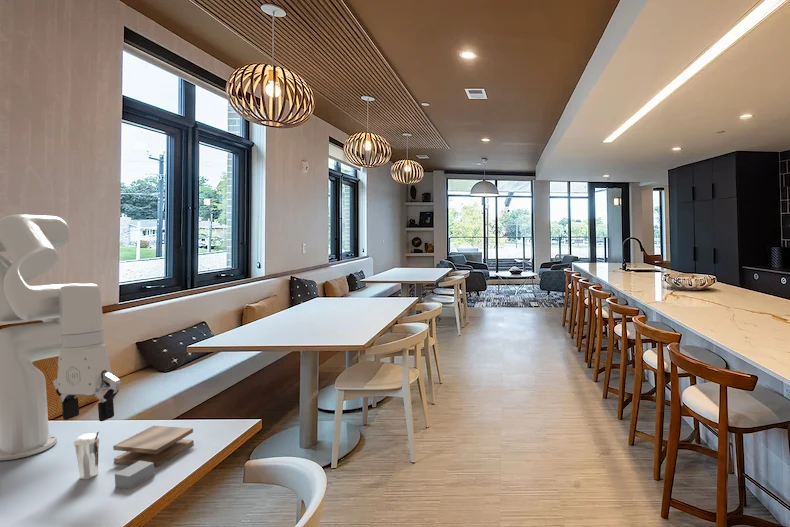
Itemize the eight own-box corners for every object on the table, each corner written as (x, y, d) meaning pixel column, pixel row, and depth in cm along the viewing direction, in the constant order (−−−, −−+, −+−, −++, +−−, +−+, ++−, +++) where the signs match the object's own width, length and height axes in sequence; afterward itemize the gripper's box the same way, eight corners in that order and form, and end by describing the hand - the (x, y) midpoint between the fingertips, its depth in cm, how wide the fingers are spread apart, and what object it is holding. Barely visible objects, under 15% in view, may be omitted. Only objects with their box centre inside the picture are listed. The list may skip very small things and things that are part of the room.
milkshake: (91, 482, 93) (88, 435, 92) (70, 480, 94) (68, 434, 93) (109, 471, 97) (107, 427, 97) (89, 470, 98) (87, 426, 98)
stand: (114, 462, 101) (113, 445, 101) (154, 440, 113) (153, 425, 113) (157, 467, 98) (156, 449, 98) (193, 444, 110) (192, 428, 110)
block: (115, 488, 90) (114, 474, 90) (140, 473, 96) (139, 460, 96) (129, 490, 89) (129, 476, 89) (154, 476, 95) (153, 462, 95)
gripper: (35, 344, 93) (40, 423, 93) (99, 343, 89) (105, 426, 89) (69, 337, 100) (74, 411, 101) (130, 336, 96) (135, 413, 96)
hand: (88, 418), depth 95 cm, fingers open, 9 cm apart
